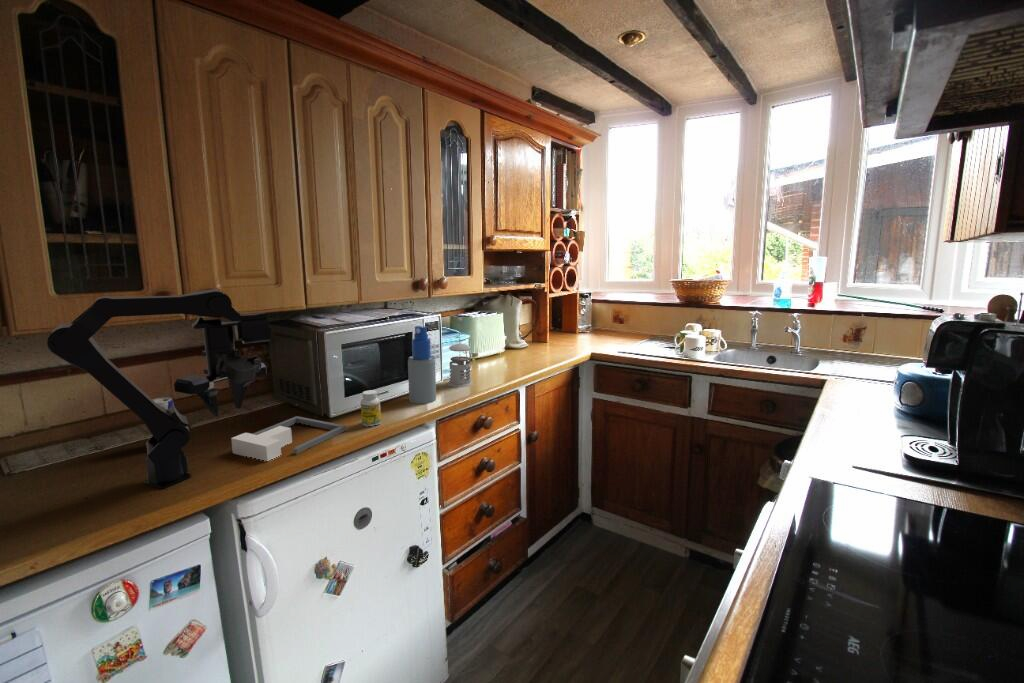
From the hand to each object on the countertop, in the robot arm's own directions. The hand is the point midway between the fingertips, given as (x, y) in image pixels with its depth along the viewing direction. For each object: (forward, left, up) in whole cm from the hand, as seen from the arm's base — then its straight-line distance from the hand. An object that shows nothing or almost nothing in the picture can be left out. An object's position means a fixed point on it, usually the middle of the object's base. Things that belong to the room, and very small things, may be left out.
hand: (227, 412), depth 112 cm
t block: (+10, 0, -13) cm, 16 cm away
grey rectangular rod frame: (+19, 0, -13) cm, 23 cm away
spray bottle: (+60, -13, -13) cm, 63 cm away
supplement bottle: (+35, -12, -13) cm, 39 cm away
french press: (+83, -15, -13) cm, 85 cm away
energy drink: (+1, +26, -13) cm, 29 cm away
